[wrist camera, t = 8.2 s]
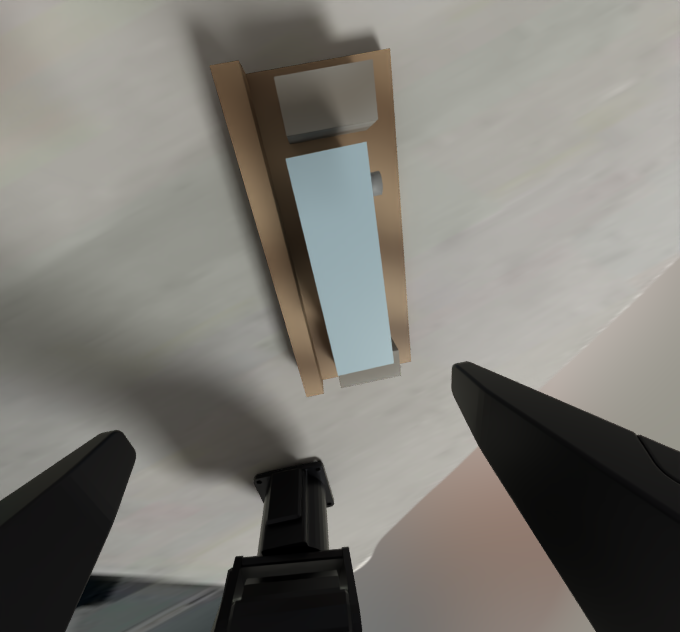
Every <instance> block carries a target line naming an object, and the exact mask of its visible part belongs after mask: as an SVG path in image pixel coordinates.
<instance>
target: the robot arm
mask: <svg viewBox="0 0 680 632" xmlns="http://www.w3.org/2000/svg"><path fill="white" fill-rule="evenodd" d="M451 388H452V393H453V396H454V398H455V400H456V402H457V404H458V406H459V408H460V410H461V412H462V414H463V416H464V418H465V420H466V422H467V424H468V426H469V428H470V430H471V432H472V434H473V436H474V438H475V440H476V442H477V444H478V446H479V447H480V449H481V451H482V453H483V454H484V456H485V457H486V459H487V460H488V462H489V464H490V465H491V467H492V468H493V470H494V472H495V473H496V475H497V476H498V478H499V480H500V481H501V483H502V484H503V486H504V487H505V489H506V491H507V492H508V494H509V495H510V497H511V498H512V500H513V502H514V503H515V505H516V506H517V508H518V510H519V511H520V513H521V514H522V516H523V517H524V519H525V521H526V522H527V524H528V525H529V527H530V529H531V530H532V532H533V533H534V535H535V536H536V538H537V540H538V541H539V543H540V544H541V546H542V547H543V549H544V551H545V552H546V554H547V555H548V557H549V559H550V560H551V562H552V563H553V565H554V566H555V568H556V570H557V571H558V573H559V574H560V576H561V577H562V579H563V581H564V582H565V584H566V585H567V587H568V588H569V590H570V591H571V593H572V594H573V596H574V598H575V600H576V601H577V603H578V604H579V606H580V607H581V609H582V610H583V612H584V613H585V615H586V617H587V618H588V620H589V622H590V623H591V625H592V626H593V628H594V629H595V631H596V632H680V451H677V450H675V449H672V448H670V447H668V446H665V445H663V444H661V443H658V442H656V441H654V440H651V439H649V438H647V437H644V436H642V435H636V434H635V433H634V432H632V431H630V430H628V429H625V428H623V427H621V426H618V425H616V424H614V423H611V422H609V421H606V420H604V419H602V418H600V417H597V416H595V415H593V414H590V413H588V412H586V411H583V410H581V409H578V408H576V407H574V406H571V405H569V404H567V403H564V402H562V401H560V400H558V399H555V398H553V397H551V396H548V395H546V394H544V393H541V392H539V391H537V390H534V389H532V388H530V387H527V386H525V385H523V384H520V383H518V382H516V381H513V380H511V379H509V378H506V377H504V376H502V375H499V374H497V373H495V372H492V371H490V370H488V369H485V368H483V367H481V366H478V365H476V364H474V363H471V362H468V361H466V362H461V363H456V364H454V365H453V366H452V383H451ZM135 460H136V452H135V449H134V448H133V446H132V445H131V444H130V442H129V441H128V439H127V438H126V436H125V435H124V433H123V432H121V431H119V430H114V431H109V432H104V433H101V434H99V435H97V436H96V437H94V438H93V439H91V440H90V441H88V442H87V443H85V444H84V445H82V446H81V447H79V448H78V449H76V450H75V451H73V452H72V453H70V454H69V455H68V456H66V457H65V458H63V459H62V460H60V461H59V462H57V463H56V464H54V465H53V466H51V467H50V468H48V469H47V470H45V471H44V472H42V473H41V474H39V475H38V476H36V477H35V478H33V479H32V480H31V481H29V482H28V483H26V484H25V485H23V486H22V487H20V488H19V489H17V490H16V491H14V492H13V493H11V494H10V495H8V496H7V497H5V498H4V499H2V500H1V501H0V632H65V631H66V629H67V627H68V624H69V622H70V620H71V618H72V615H73V613H74V611H75V609H76V606H77V604H78V602H79V600H80V597H81V595H82V593H83V591H84V588H85V586H86V584H87V582H88V579H89V577H90V575H91V573H92V570H93V568H94V566H95V564H96V561H97V559H98V557H99V555H100V552H101V550H102V548H103V546H104V543H105V541H106V539H107V537H108V534H109V532H110V530H111V527H112V525H113V522H114V520H115V517H116V514H117V512H118V509H119V506H120V503H121V500H122V497H123V495H124V492H125V489H126V486H127V483H128V480H129V477H130V475H131V472H132V469H133V466H134V463H135ZM254 485H255V487H256V489H257V491H258V493H259V495H260V497H261V499H262V501H263V503H264V509H263V516H262V524H261V531H260V539H259V546H258V554H257V556H253V557H243V556H236V557H235V561H234V565H233V568H231V569H230V570H228V573H227V578H226V583H225V588H224V593H223V597H222V601H221V604H220V607H219V610H218V612H217V615H216V618H215V621H214V624H213V627H212V630H211V632H362V625H361V616H360V609H359V603H358V597H357V592H356V586H355V581H354V575H353V569H352V563H351V558H350V552H349V547H342V549H333V550H329V541H328V524H327V507H331V506H333V505H334V498H333V495H332V492H331V489H330V485H329V482H328V479H327V475H326V472H325V469H324V465H323V463H322V462H314V463H309V464H305V465H300V466H295V467H291V468H286V469H282V470H277V471H272V472H268V473H263V474H259V475H256V476H255V477H254Z"/></svg>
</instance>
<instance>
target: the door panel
mask: <svg viewBox="0 0 680 632" xmlns="http://www.w3.org/2000/svg"><path fill="white" fill-rule="evenodd" d="M286 163H287V167H288V171H289V175H290V180H291V184H292V188H293V192H294V196H295V200H296V204H297V208H298V213H299V217H300V221H301V225H302V229H303V233H304V237H305V241H306V246H307V250H308V254H309V258H310V262H311V266H312V270H313V274H314V279H315V283H316V287H317V291H318V295H319V299H320V303H321V307H322V312H323V316H324V320H325V324H326V328H327V332H328V336H329V340H330V345H331V349H332V353H333V357H334V361H335V365H336V369H337V373H338V376H340V375H344V374H349V373H353V372H357V371H362V370H366V369H371V368H375V367H380V366H384V365H388V364H393V363H394V358H393V350H392V342H391V334H390V326H389V318H388V310H387V302H386V294H385V286H384V278H383V270H382V262H381V254H380V246H379V238H378V230H377V222H376V214H375V206H374V198H373V196H378V195H382V192H383V183H382V177H381V173H380V171H375V172H370V166H369V158H368V150H367V142H362V143H358V144H353V145H348V146H343V147H339V148H334V149H329V150H324V151H320V152H315V153H310V154H305V155H301V156H296V157H291V158H286Z"/></svg>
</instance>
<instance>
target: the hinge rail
mask: <svg viewBox="0 0 680 632" xmlns="http://www.w3.org/2000/svg"><path fill="white" fill-rule="evenodd" d="M210 69H211V72H212V76H213V79H214V83H215V86H216V90H217V93H218V96H219V100H220V103H221V107H222V110H223V113H224V117H225V120H226V124H227V127H228V130H229V134H230V137H231V141H232V144H233V147H234V151H235V154H236V158H237V161H238V164H239V168H240V171H241V175H242V178H243V181H244V185H245V188H246V192H247V195H248V198H249V202H250V205H251V209H252V212H253V216H254V219H255V222H256V226H257V229H258V233H259V236H260V239H261V243H262V246H263V250H264V253H265V256H266V260H267V263H268V267H269V270H270V273H271V277H272V280H273V284H274V287H275V290H276V294H277V297H278V301H279V304H280V307H281V311H282V314H283V318H284V321H285V324H286V328H287V331H288V335H289V338H290V341H291V345H292V348H293V352H294V355H295V359H296V362H297V365H298V369H299V372H300V376H301V379H302V382H303V386H304V389H305V393H306V396H307V397H309V396H314V395H319V394H324V391H323V380H324V379H329V378H334V377H339V380H340V385H341V388H344V387H349V386H354V385H358V384H363V383H368V382H373V381H377V380H382V379H387V378H392V377H396V376H401V370H400V364H401V363H406V362H410V361H411V354H410V339H409V324H408V309H407V294H406V279H405V265H404V250H403V235H402V220H401V205H400V190H399V175H398V160H397V146H396V131H395V116H394V101H393V86H392V71H391V56H390V48H389V49H383V50H378V51H372V52H366V53H361V54H355V55H350V56H344V57H338V58H333V59H327V60H322V61H316V62H310V63H305V64H299V65H294V66H288V67H282V68H277V69H271V70H266V71H260V72H254V73H249V74H245V72H244V70H243V68H242V66H241V64H240V62H239V60H238V61H232V62H227V63H221V64H216V65H210ZM362 142H367V150H368V158H369V166H370V172H375V171H380V173H381V177H382V183H383V192H382V195H378V196H373V198H374V206H375V214H376V222H377V230H378V238H379V246H380V254H381V262H382V270H383V278H384V286H385V294H386V302H387V310H388V318H389V326H390V334H391V342H392V350H393V358H394V363H393V364H388V365H384V366H380V367H375V368H371V369H366V370H362V371H357V372H353V373H349V374H344V375H340V376H338V373H337V369H336V365H335V361H334V357H333V353H332V349H331V345H330V340H329V336H328V332H327V328H326V324H325V320H324V316H323V312H322V307H321V303H320V299H319V295H318V291H317V287H316V283H315V279H314V274H313V270H312V266H311V262H310V258H309V254H308V250H307V246H306V241H305V237H304V233H303V229H302V225H301V221H300V217H299V213H298V208H297V204H296V200H295V196H294V192H293V188H292V184H291V180H290V175H289V171H288V167H287V163H286V158H291V157H296V156H301V155H305V154H310V153H315V152H320V151H324V150H329V149H334V148H339V147H343V146H348V145H353V144H358V143H362Z"/></svg>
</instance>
